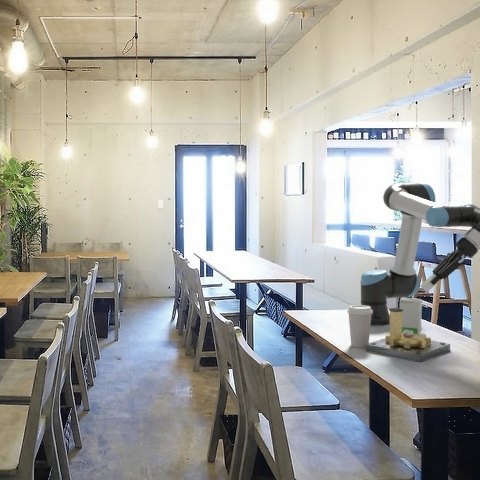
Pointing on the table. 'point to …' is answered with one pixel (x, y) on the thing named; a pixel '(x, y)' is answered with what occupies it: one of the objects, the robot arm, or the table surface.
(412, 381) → the table surface
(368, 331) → the coffee cup
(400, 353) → the steel plate
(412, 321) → the skincare box
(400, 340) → the brass gear wheel
